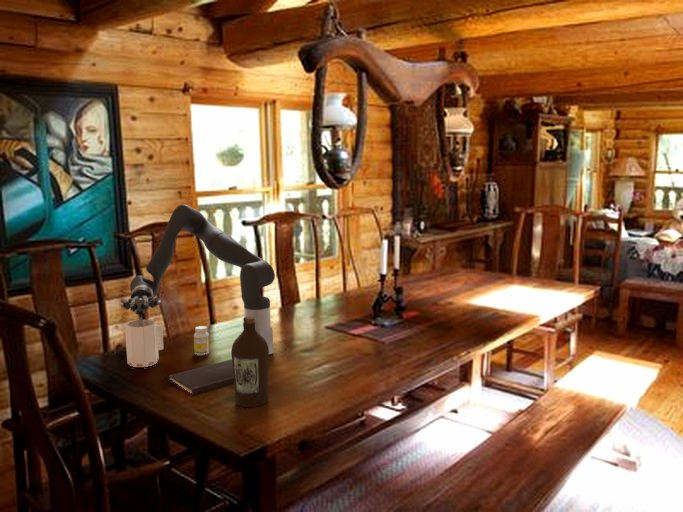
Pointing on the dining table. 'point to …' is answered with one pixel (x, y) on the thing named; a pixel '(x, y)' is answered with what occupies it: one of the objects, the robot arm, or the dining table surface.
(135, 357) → the octagonal white mug
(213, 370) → the hardcover book
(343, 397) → the dining table surface
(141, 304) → the plunger
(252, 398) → the olive oil
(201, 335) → the supplement bottle
